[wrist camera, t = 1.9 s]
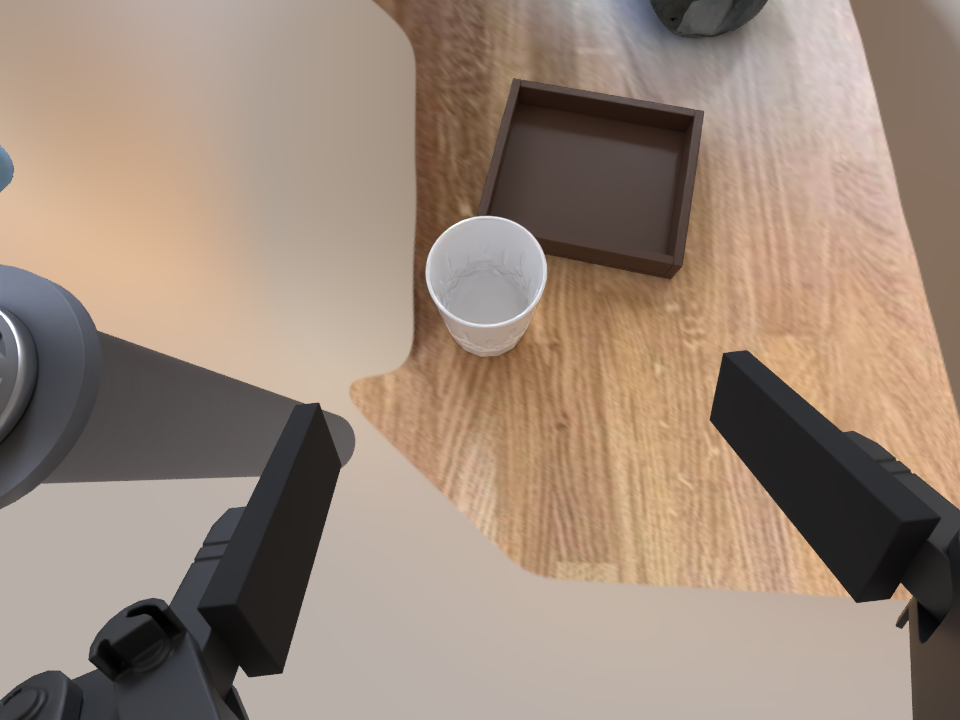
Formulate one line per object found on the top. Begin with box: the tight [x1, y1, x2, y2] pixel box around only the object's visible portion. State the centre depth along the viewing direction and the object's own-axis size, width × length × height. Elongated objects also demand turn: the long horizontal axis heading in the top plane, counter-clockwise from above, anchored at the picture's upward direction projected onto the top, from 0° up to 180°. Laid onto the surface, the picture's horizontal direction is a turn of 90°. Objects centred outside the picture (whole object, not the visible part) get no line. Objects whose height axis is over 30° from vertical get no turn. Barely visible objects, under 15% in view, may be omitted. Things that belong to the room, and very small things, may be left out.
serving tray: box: [477, 78, 704, 279], centre depth 40 cm, size 18×16×2 cm
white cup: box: [426, 216, 547, 357], centre depth 34 cm, size 8×8×10 cm
